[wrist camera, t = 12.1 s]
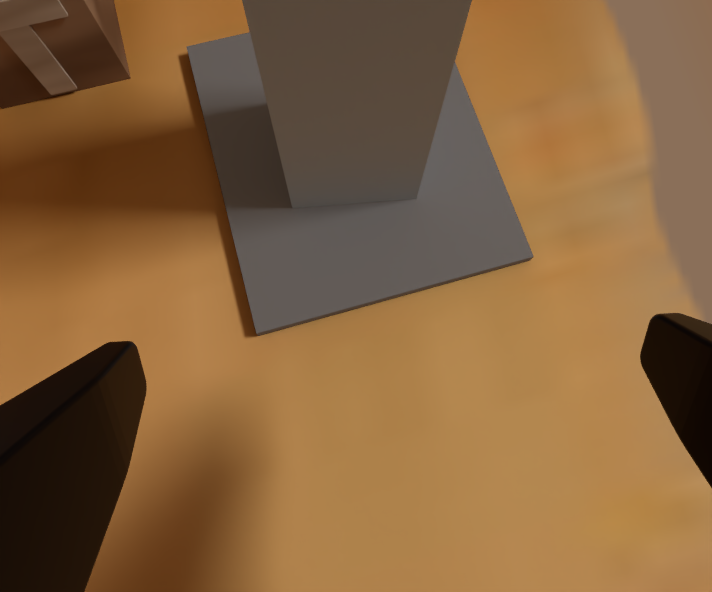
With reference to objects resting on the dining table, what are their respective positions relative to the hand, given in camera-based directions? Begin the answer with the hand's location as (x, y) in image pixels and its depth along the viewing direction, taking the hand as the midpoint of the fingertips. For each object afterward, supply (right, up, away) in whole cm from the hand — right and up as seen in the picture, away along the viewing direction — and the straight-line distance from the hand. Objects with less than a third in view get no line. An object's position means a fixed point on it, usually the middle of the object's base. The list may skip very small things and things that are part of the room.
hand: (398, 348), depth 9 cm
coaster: (-1, +6, +11) cm, 13 cm away
